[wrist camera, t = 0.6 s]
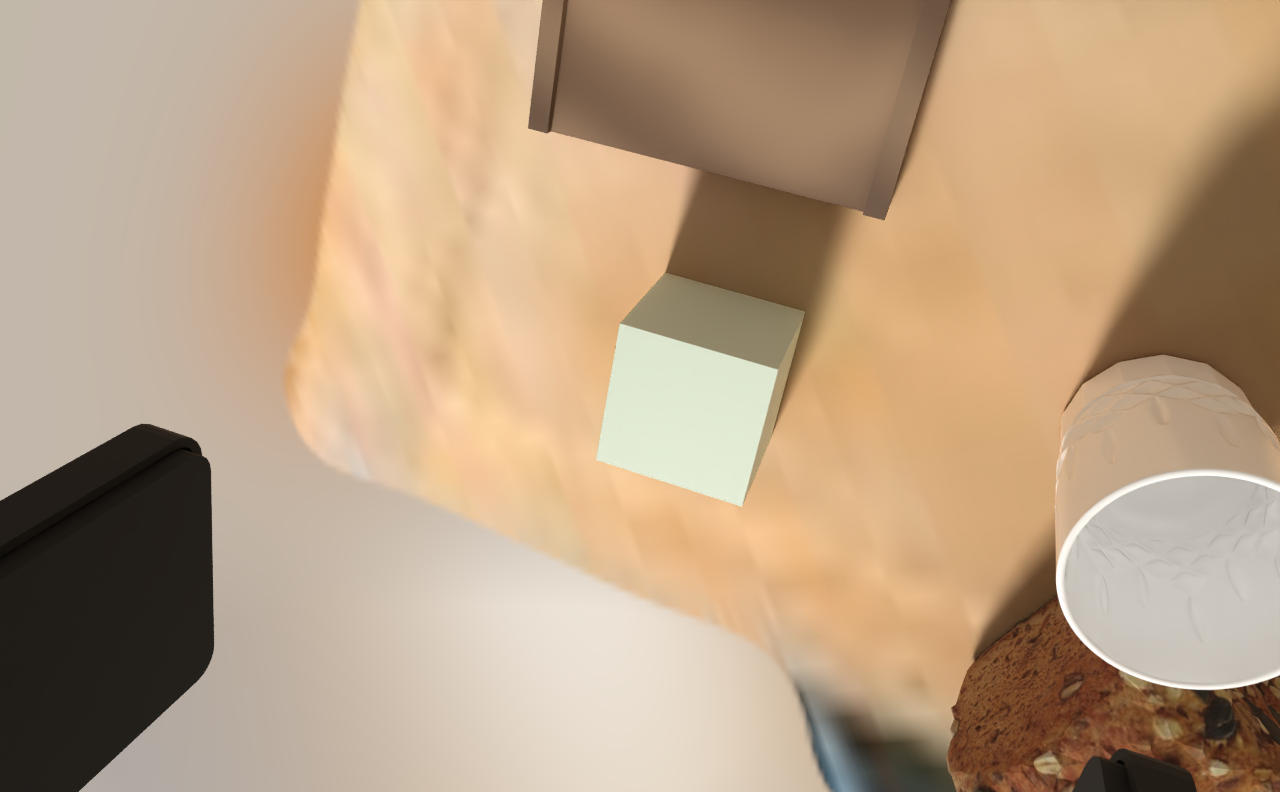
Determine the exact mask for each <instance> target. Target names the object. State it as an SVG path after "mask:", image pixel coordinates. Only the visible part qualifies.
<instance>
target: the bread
mask: <svg viewBox="0 0 1280 792" xmlns="http://www.w3.org/2000/svg"><path fill="white" fill-rule="evenodd" d="M951 709H952V713H953V717H954V721H953V724H952V726H951V729H950V730H951V733H952V736H953V739H952V740H951V743H950V746H949V750H948V753H947V764H948V771H949V772H950V774H951V775H952V778H953V781H954V784H955V787H956V790H957V792H1072V791H1073V789H1074V787H1075V785H1076V783H1077V781H1078V779H1079V777H1080V775H1081V773H1082V771H1083V769H1084V767H1085V765H1086V764H1087V762H1088V761H1089V759H1090V758H1092V757H1093V756H1098V757H1101V758H1104V759H1107V760H1110V758H1111V756H1112V755H1113V753H1115V752H1116V751H1117V750H1118V749H1122V748H1125V749H1128V750H1131V751H1134V752H1137V753H1140V754H1143V755H1146V756H1149V757H1152V758H1155V759H1158V760H1161V761H1164V762H1167V763H1170V764H1173V765H1176V766H1179V767H1182V768H1185V769H1186V770H1188V771H1189V772H1190V773H1191V775H1192V777H1193V780H1194V782H1195V786H1196V790H1197V792H1280V675H1279V676H1277V677H1274V678H1271V679H1269V680H1266V681H1263V682H1259V683H1256V684H1252V685H1247V686H1242V687H1236V688H1229V689H1217V690H1194V689H1183V688H1175V687H1169V686H1164V685H1160V684H1156V683H1152V682H1149V681H1146V680H1143V679H1140V678H1137V677H1135V676H1132V675H1130V674H1128V673H1125V672H1123V671H1121V670H1119V669H1117V668H1116V667H1114V666H1112V665H1111V664H1109V663H1107V662H1106V661H1104V660H1103V659H1102V658H1100V657H1099V656H1098V655H1096V654H1095V653H1094V652H1093V651H1091V650H1090V649H1089V648H1088V647H1087V646H1086V645H1085V644H1084V643H1083V642H1082V641H1081V640H1080V638H1079V637H1078V636H1077V635H1076V634H1075V632H1074V631H1073V629H1072V628H1071V626H1070V625H1069V623H1068V621H1067V620H1066V618H1065V616H1064V613H1063V611H1062V609H1061V606H1060V603H1059V599H1058V596H1057V597H1055V598H1054V599H1052V600H1051V601H1050V602H1048V603H1047V604H1046V605H1045V606H1044V607H1042V608H1041V609H1040V610H1039V611H1038V612H1037V613H1035V614H1034V615H1032V616H1031V617H1030V618H1028V619H1026V620H1024V621H1022V622H1019V623H1018V624H1017V625H1016V626H1015V627H1014V628H1013V629H1012V630H1011V631H1010V632H1008V633H1007V634H1005V635H1004V636H1003V637H1001V638H1000V639H999V640H997V641H996V642H995V643H993V644H992V645H991V646H990V647H989V648H987V649H986V650H985V651H984V652H983V653H982V654H981V655H980V656H979V657H978V658H977V659H976V660H975V662H974V663H973V664H972V665H971V667H970V668H969V669H968V671H967V673H966V676H965V679H964V681H963V684H962V687H961V690H960V694H959V697H958V700H957V703H956V705H955V706H953V707H952V708H951Z"/></svg>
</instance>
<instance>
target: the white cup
mask: <svg viewBox="0 0 1280 792" xmlns="http://www.w3.org/2000/svg"><path fill="white" fill-rule="evenodd" d="M1055 539H1056V588H1057V594H1058V599H1059V603H1060V606H1061V609H1062V611H1063V613H1064V616H1065V618H1066V620H1067V621H1068V623H1069V625H1070V626H1071V628H1072V629H1073V631H1074V632H1075V634H1076V635H1077V636H1078V637H1079V638H1080V640H1081V641H1082V642H1083V643H1084V644H1085V645H1086V646H1087V647H1088V648H1089V649H1090V650H1091V651H1093V652H1094V653H1095V654H1096V655H1098V656H1099V657H1100V658H1102V659H1103V660H1104V661H1106V662H1107V663H1109V664H1111V665H1112V666H1114V667H1116V668H1117V669H1119V670H1121V671H1123V672H1125V673H1128V674H1130V675H1132V676H1135V677H1137V678H1140V679H1143V680H1146V681H1149V682H1152V683H1156V684H1160V685H1164V686H1169V687H1175V688H1183V689H1194V690H1217V689H1229V688H1236V687H1242V686H1247V685H1252V684H1256V683H1259V682H1263V681H1266V680H1269V679H1271V678H1274V677H1277V676H1279V675H1280V441H1279V440H1278V438H1277V437H1276V435H1275V434H1274V432H1273V431H1272V430H1271V428H1270V427H1269V425H1268V424H1267V423H1266V422H1265V421H1264V420H1263V419H1262V417H1261V416H1260V415H1259V414H1258V413H1257V412H1256V411H1255V410H1254V409H1253V407H1252V405H1251V404H1250V402H1249V401H1248V399H1247V397H1246V396H1245V394H1244V393H1243V391H1242V390H1241V388H1240V387H1238V386H1237V385H1235V384H1234V383H1233V382H1231V381H1230V380H1229V379H1227V378H1226V377H1225V376H1223V375H1222V374H1220V373H1219V372H1218V371H1216V370H1215V369H1214V368H1212V367H1211V366H1210V365H1208V364H1206V363H1202V362H1197V361H1192V360H1187V359H1182V358H1178V357H1173V356H1168V355H1157V356H1151V357H1145V358H1139V359H1133V360H1128V361H1122V362H1118V363H1116V364H1115V365H1113V366H1111V367H1110V368H1108V369H1106V370H1105V371H1103V372H1101V373H1100V374H1098V375H1097V376H1095V377H1093V378H1092V379H1090V380H1088V381H1087V382H1085V383H1084V384H1082V386H1081V387H1080V389H1079V390H1078V392H1077V393H1076V395H1075V396H1074V398H1073V399H1072V401H1071V402H1070V404H1069V405H1068V407H1067V408H1066V410H1065V411H1064V413H1063V415H1062V418H1061V432H1060V446H1059V458H1058V460H1057V465H1056V499H1055Z"/></svg>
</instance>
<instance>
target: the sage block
mask: <svg viewBox="0 0 1280 792" xmlns="http://www.w3.org/2000/svg"><path fill="white" fill-rule="evenodd" d="M804 315H805V311H802V310H798V309H795V308H791V307H787V306H784V305H780V304H777V303H773V302H769V301H766V300H762V299H759V298H755V297H752V296H748V295H744V294H741V293H737V292H734V291H730V290H726V289H723V288H719V287H716V286H712V285H709V284H705V283H701V282H698V281H694V280H691V279H687V278H683V277H680V276H676V275H673V274H669V273H666V272H665V273H664V275H663V276H662V277H661V278H660V279H659V280H658V281H657V282H656V284H655V285H654V286H653V287H652V288H651V289H650V290H649V291H648V293H647V294H646V295H645V296H644V297H643V298H642V299H641V300H640V302H639V303H638V304H637V305H636V306H635V307H634V308H633V309H632V311H631V312H630V313H629V314H628V315H627V316H626V317H625V318H624V320H623V321H622V322H621V323H620V326H619V332H618V338H617V343H616V349H615V355H614V361H613V366H612V372H611V378H610V384H609V389H608V395H607V401H606V406H605V412H604V418H603V424H602V429H601V435H600V441H599V447H598V452H597V458H596V460H598V461H601V462H605V463H608V464H611V465H614V466H617V467H620V468H623V469H626V470H629V471H633V472H636V473H639V474H642V475H645V476H648V477H651V478H654V479H657V480H661V481H664V482H667V483H670V484H673V485H676V486H679V487H682V488H685V489H689V490H692V491H695V492H698V493H701V494H704V495H707V496H710V497H713V498H717V499H720V500H723V501H726V502H729V503H732V504H735V505H738V506H741V507H742V506H743V503H744V501H745V498H746V496H747V494H748V491H749V489H750V486H751V484H752V482H753V479H754V477H755V475H756V472H757V470H758V467H759V465H760V463H761V460H762V458H763V455H764V453H765V451H766V448H767V446H768V444H769V441H770V439H771V436H772V433H773V429H774V425H775V422H776V418H777V414H778V411H779V407H780V403H781V400H782V396H783V392H784V388H785V385H786V381H787V377H788V374H789V370H790V366H791V363H792V359H793V355H794V352H795V348H796V344H797V341H798V337H799V333H800V330H801V326H802V322H803V318H804Z"/></svg>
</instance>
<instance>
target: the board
mask: <svg viewBox="0 0 1280 792" xmlns="http://www.w3.org/2000/svg"><path fill="white" fill-rule="evenodd" d="M950 2H951V0H543V3H542V12H541V20H540V29H539V38H538V46H537V55H536V64H535V72H534V81H533V90H532V99H531V107H530V116H529V125H528V128H529V129H532V130H536V131H540V132H544V133H549V132H551V131H552V132H556V133H560V134H564V135H567V136H571V137H575V138H579V139H583V140H587V141H591V142H595V143H599V144H602V145H606V146H610V147H614V148H618V149H622V150H626V151H630V152H634V153H637V154H641V155H645V156H649V157H653V158H657V159H661V160H665V161H669V162H672V163H676V164H680V165H684V166H688V167H692V168H696V169H700V170H703V171H707V172H711V173H715V174H719V175H723V176H727V177H731V178H735V179H738V180H742V181H746V182H750V183H754V184H758V185H762V186H766V187H770V188H773V189H777V190H781V191H785V192H789V193H793V194H797V195H801V196H804V197H808V198H812V199H816V200H820V201H824V202H828V203H832V204H836V205H839V206H843V207H847V208H851V209H855V210H859V211H863V215H866V216H870V217H874V218H877V219H881V220H885V218H886V215H887V212H888V209H889V206H890V203H891V199H892V196H893V192H894V189H895V186H896V182H897V179H898V176H899V172H900V169H901V166H902V162H903V159H904V156H905V152H906V149H907V146H908V142H909V139H910V136H911V132H912V129H913V126H914V122H915V119H916V116H917V112H918V109H919V106H920V102H921V99H922V96H923V92H924V89H925V86H926V82H927V79H928V76H929V72H930V69H931V66H932V62H933V59H934V56H935V52H936V49H937V46H938V42H939V39H940V36H941V32H942V29H943V26H944V22H945V19H946V15H947V12H948V9H949V5H950Z"/></svg>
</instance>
